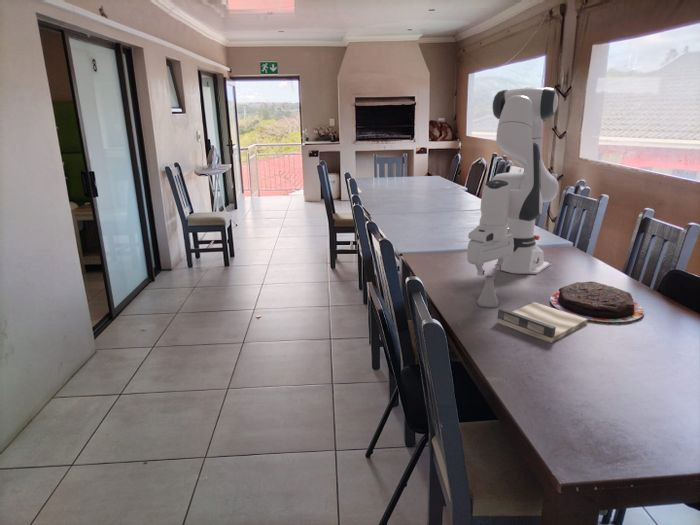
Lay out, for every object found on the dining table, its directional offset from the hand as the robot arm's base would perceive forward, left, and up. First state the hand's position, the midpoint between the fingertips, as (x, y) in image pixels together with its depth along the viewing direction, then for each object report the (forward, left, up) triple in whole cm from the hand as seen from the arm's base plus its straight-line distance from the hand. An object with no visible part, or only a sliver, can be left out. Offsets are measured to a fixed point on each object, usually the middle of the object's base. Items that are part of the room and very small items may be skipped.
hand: (489, 272), depth 158 cm
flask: (0, 0, -12) cm, 12 cm away
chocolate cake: (-25, +24, -12) cm, 37 cm away
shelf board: (0, +20, -12) cm, 23 cm away
